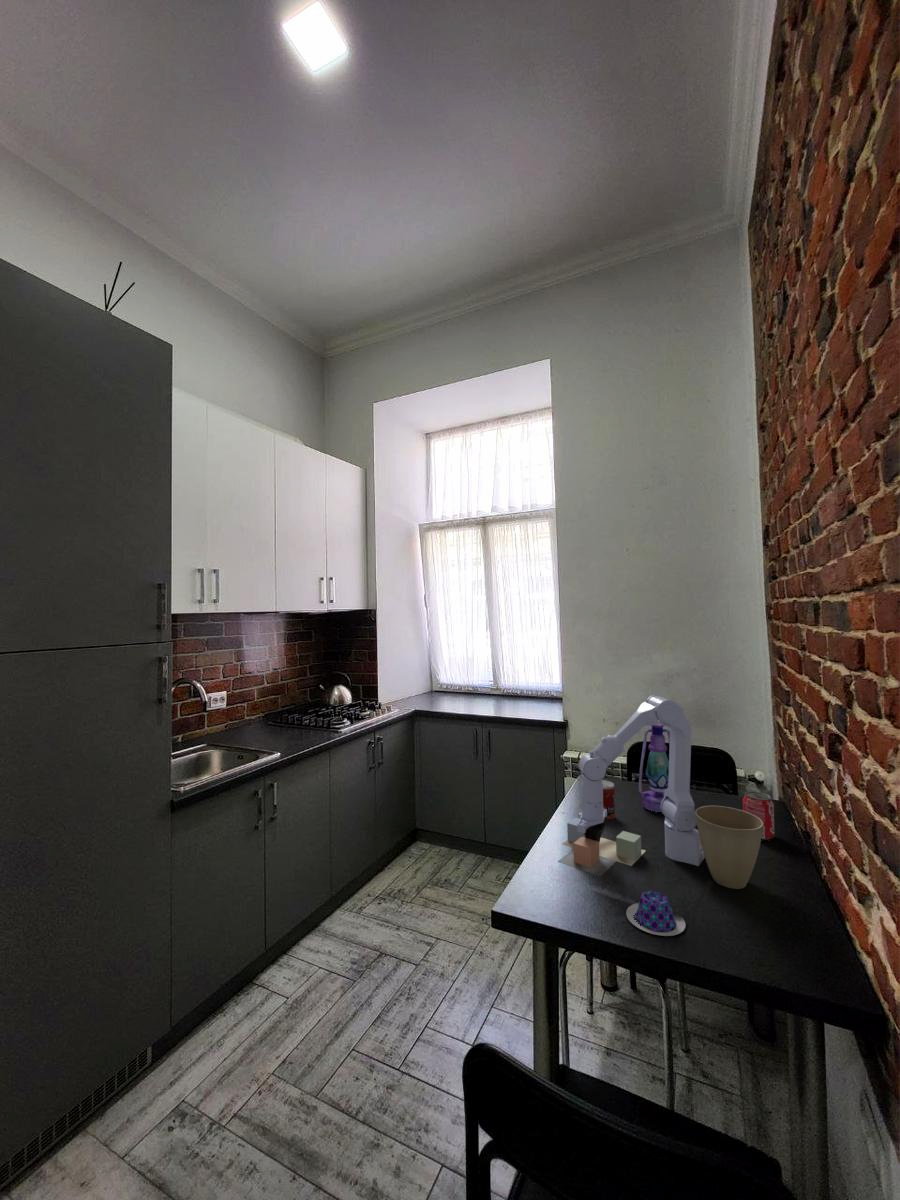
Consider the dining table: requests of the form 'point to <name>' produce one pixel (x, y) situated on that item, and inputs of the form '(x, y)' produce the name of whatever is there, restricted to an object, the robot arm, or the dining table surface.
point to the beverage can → (761, 811)
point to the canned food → (609, 799)
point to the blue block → (573, 830)
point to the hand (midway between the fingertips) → (593, 850)
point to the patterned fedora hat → (655, 915)
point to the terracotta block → (586, 852)
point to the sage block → (628, 845)
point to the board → (605, 856)
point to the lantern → (655, 768)
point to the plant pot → (729, 843)
